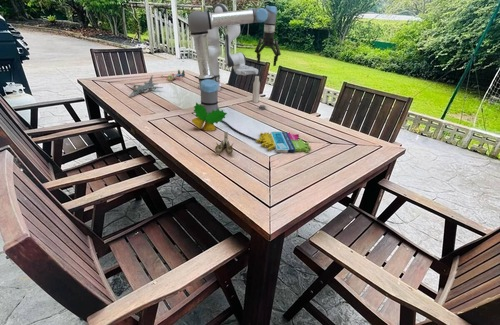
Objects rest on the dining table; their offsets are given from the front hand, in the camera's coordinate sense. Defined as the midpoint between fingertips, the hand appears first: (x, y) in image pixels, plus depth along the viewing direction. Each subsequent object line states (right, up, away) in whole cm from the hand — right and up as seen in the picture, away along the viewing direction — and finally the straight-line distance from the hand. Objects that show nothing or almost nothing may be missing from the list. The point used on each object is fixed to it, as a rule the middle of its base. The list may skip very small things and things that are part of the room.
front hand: (266, 64), depth 191 cm
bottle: (-7, -20, +33) cm, 39 cm away
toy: (-92, +18, +90) cm, 130 cm away
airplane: (-105, -10, +38) cm, 112 cm away
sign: (+7, -60, -38) cm, 72 cm away
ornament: (-38, -50, -26) cm, 68 cm away
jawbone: (-26, -66, -52) cm, 88 cm away
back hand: (-11, +4, +31) cm, 33 cm away
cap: (-2, -27, +15) cm, 32 cm away
